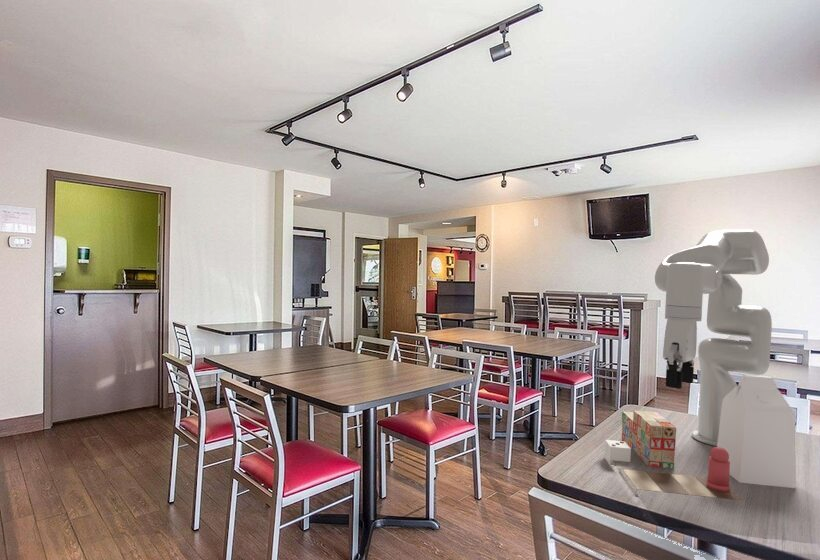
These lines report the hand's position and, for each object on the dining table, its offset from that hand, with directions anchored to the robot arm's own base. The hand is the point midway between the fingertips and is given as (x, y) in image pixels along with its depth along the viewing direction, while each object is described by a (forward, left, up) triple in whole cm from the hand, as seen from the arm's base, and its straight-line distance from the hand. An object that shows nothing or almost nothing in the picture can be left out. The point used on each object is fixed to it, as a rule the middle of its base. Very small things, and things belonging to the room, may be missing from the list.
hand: (679, 384), depth 107 cm
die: (+11, -9, -24) cm, 28 cm away
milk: (-20, -6, -24) cm, 32 cm away
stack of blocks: (+1, -16, -24) cm, 29 cm away
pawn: (-8, +4, -23) cm, 24 cm away
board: (+1, +4, -24) cm, 24 cm away
